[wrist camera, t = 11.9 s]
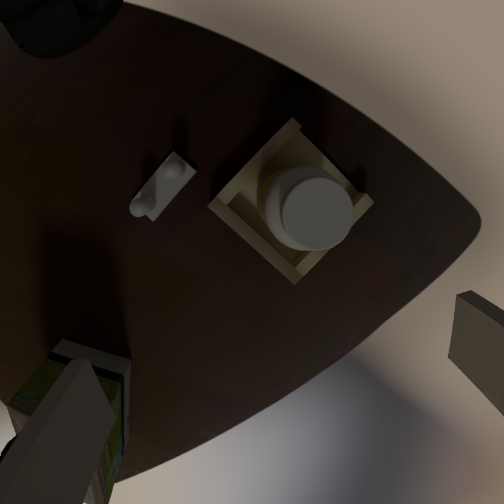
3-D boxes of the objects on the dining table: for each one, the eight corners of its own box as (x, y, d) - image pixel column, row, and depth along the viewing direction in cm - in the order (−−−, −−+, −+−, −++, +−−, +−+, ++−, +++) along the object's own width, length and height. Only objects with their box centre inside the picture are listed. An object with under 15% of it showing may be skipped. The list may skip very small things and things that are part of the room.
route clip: (133, 200, 30) (119, 205, 26) (174, 151, 29) (165, 148, 25) (154, 220, 31) (143, 227, 27) (196, 171, 30) (190, 171, 26)
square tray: (290, 276, 33) (294, 284, 30) (209, 203, 30) (207, 206, 28) (363, 199, 31) (373, 202, 28) (287, 121, 29) (292, 117, 26)
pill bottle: (330, 208, 30) (380, 227, 20) (279, 244, 31) (306, 282, 20) (296, 155, 29) (332, 146, 18) (242, 192, 29) (250, 202, 19)
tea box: (132, 435, 38) (107, 513, 24) (71, 415, 37) (33, 484, 23) (134, 356, 34) (92, 445, 20) (62, 334, 33) (0, 404, 19)
